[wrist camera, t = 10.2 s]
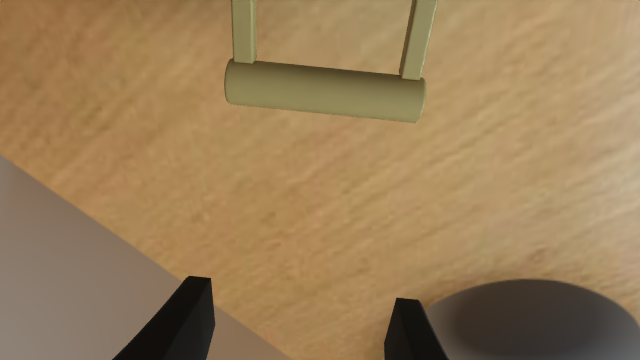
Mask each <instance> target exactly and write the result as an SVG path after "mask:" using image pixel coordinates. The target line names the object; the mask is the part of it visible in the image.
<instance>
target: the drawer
mask: <svg viewBox="0 0 640 360" xmlns="http://www.w3.org/2000/svg"><path fill="white" fill-rule="evenodd" d="M437 3H438V0H412V6H411V11H410V16H409V21H408V27H407V32H406V37H405V42H404V48H403V53H402V58H401V63H400V68H399V74H400V75H393V74H383V73H373V72H363V71H353V70H343V69H333V68H323V67H313V66H304V65H294V64H284V63H274V62H264V61H255V59H256V0H231V9H232V37H233V59H230V60H229V62H228V64H227V67H226V72H225V81H224V88H225V96H226V100H227V102H228V103H229V104H233V105H243V106H253V107H263V108H273V109H282V110H292V111H302V112H312V113H322V114H332V115H342V116H351V117H361V118H371V119H381V120H391V121H401V122H410V123H416V122H418V121H419V120H420V118H421V115H422V112H423V109H424V104H425V97H426V83H425V79H424V78H422V77H421V74H422V70H423V65H424V61H425V56H426V52H427V47H428V43H429V38H430V34H431V29H432V25H433V21H434V16H435V12H436V7H437Z"/></svg>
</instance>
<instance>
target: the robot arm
mask: <svg viewBox="0 0 640 360" xmlns="http://www.w3.org/2000/svg"><path fill="white" fill-rule="evenodd" d="M214 327H215V318H214V307H213V296H212V285H211V278H205V277H196V276H189V277H187V278H186V279H185V280H184V281H183V283H182V284H181V285H180V286H179V288H178V289H177V290H176V291H175V292H174V294H173V295H172V296H171V297H170V298H169V300H168V301H167V302H166V303H165V304H164V305H163V306H162V308H161V309H160V310H159V311H158V312H157V314H155V316H154V317H153V318H152V319H151V320H150V321H149V322H148V323H147V324H146V325H145V326H144V328H143V329H142V330H141V331H140V332H139V333H138V334H137V335H136V336H135V337H134V338H133V339H132V340H131V342H130V343H128V345H127V346H126V347H125V348H123V350H121V351H120V352H119V354H117V356H115V357H114V359H112V360H206V358H207V354H208V350H209V347H210V343H211V339H212V335H213V331H214ZM384 353H385V360H449V359H448V357H447V355H446V353H445V351H444V350H443V348H442V346H441V344H440V342H439V340H438V338H437V336H436V334H435V332H434V330H433V328H432V326H431V324H430V322H429V320H428V318H427V316H426V313H425V311H424V309H423V306H422V304H421V303H420V301H419V300H414V299H404V298H396V302H395V305H394V309H393V313H392V316H391V320H390V324H389V327H388V331H387V335H386V338H385V342H384Z"/></svg>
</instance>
